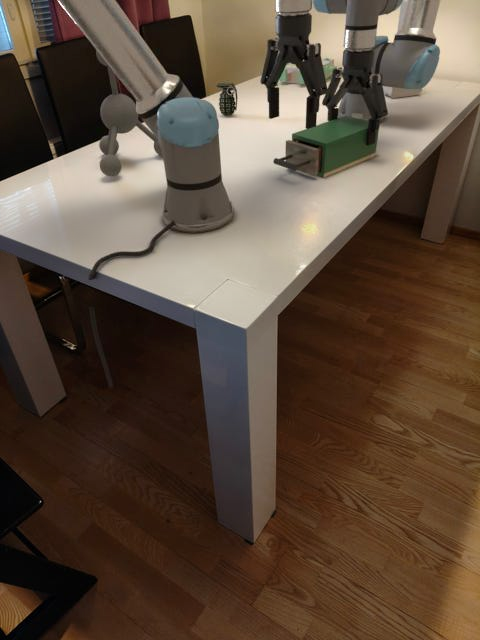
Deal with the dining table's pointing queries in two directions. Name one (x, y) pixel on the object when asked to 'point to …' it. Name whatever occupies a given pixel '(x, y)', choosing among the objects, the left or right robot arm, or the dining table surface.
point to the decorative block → (294, 75)
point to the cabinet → (339, 143)
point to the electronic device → (394, 91)
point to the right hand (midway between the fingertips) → (350, 138)
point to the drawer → (302, 157)
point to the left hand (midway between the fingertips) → (291, 122)
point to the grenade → (227, 99)
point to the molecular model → (118, 125)
